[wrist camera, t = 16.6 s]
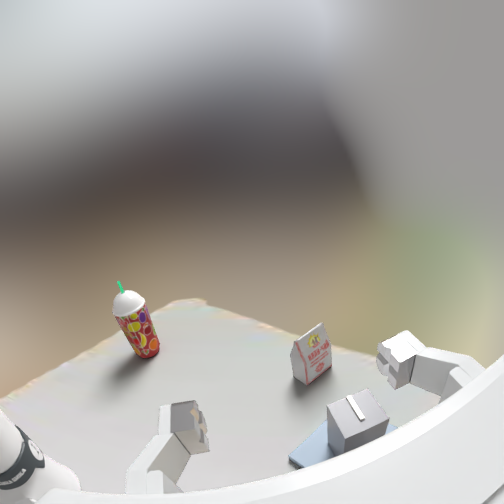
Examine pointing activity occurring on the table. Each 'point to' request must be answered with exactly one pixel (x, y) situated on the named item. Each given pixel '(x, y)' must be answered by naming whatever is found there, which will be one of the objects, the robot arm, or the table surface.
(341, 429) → the tall gray block
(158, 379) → the table surface
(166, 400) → the table surface
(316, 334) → the white paper bag
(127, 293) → the smoothie
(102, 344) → the table surface
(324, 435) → the panel
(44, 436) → the table surface
